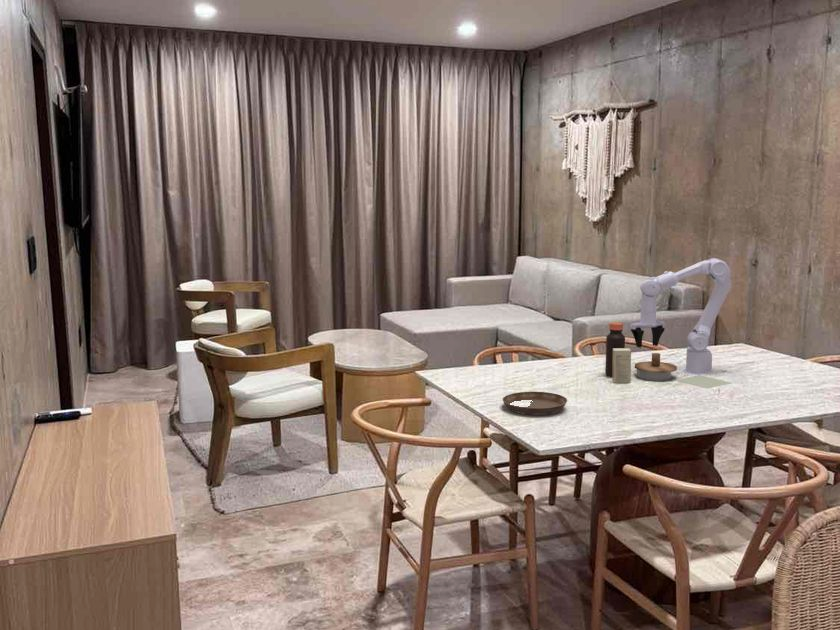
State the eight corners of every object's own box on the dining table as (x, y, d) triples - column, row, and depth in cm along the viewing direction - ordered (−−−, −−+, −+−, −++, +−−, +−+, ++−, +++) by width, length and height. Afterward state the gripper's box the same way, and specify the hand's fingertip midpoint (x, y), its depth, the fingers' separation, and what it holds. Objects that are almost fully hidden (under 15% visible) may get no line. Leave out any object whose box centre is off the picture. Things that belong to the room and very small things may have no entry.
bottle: (627, 376, 293) (629, 324, 290) (612, 378, 291) (614, 325, 288) (616, 372, 300) (618, 321, 296) (601, 374, 297) (603, 322, 294)
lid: (664, 362, 299) (665, 349, 298) (684, 371, 284) (685, 357, 283) (627, 364, 296) (628, 350, 295) (646, 373, 281) (646, 359, 280)
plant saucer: (489, 410, 251) (489, 400, 251) (524, 397, 267) (525, 387, 266) (545, 422, 238) (545, 411, 238) (578, 407, 254) (579, 397, 253)
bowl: (652, 373, 299) (652, 362, 298) (677, 379, 289) (678, 368, 288) (630, 377, 293) (630, 366, 292) (655, 383, 283) (655, 372, 282)
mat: (699, 376, 293) (699, 375, 293) (732, 384, 281) (732, 382, 281) (674, 381, 285) (674, 380, 285) (707, 389, 274) (707, 388, 273)
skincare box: (629, 380, 288) (630, 348, 286) (630, 383, 284) (632, 350, 282) (611, 380, 288) (612, 347, 286) (612, 383, 284) (614, 350, 282)
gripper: (639, 314, 291) (637, 349, 294) (670, 311, 297) (669, 346, 299) (627, 311, 298) (626, 346, 300) (658, 309, 303) (657, 343, 305)
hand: (647, 346), depth 300 cm, fingers open, 7 cm apart
